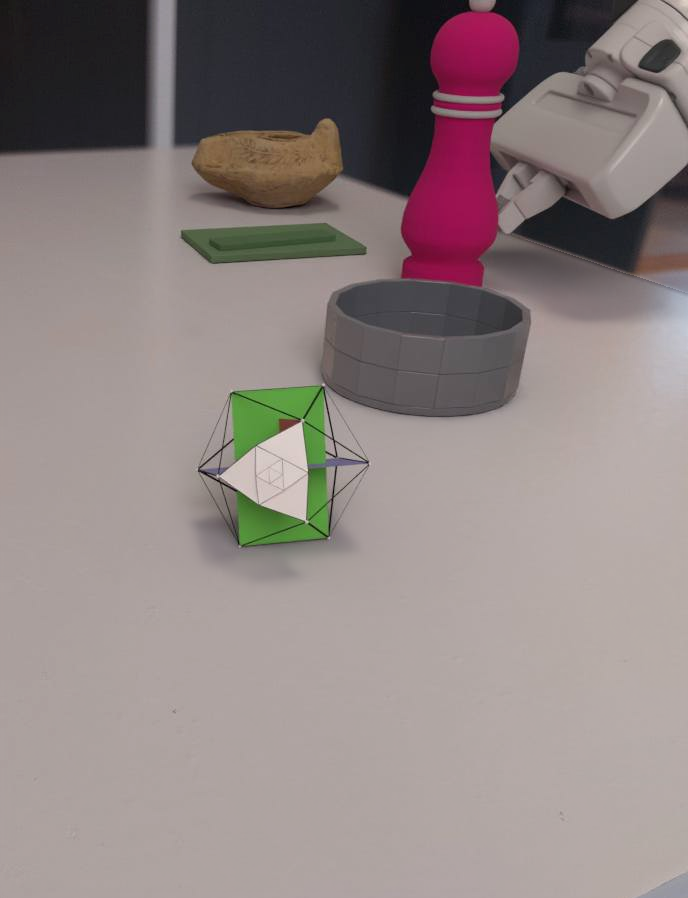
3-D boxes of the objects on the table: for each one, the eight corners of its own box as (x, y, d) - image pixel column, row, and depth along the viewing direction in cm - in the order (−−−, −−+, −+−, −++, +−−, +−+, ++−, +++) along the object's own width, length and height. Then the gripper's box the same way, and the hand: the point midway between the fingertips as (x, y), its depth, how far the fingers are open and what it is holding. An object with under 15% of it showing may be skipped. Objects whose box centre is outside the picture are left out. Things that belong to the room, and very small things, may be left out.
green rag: (325, 229, 95) (326, 216, 95) (366, 253, 88) (367, 240, 88) (180, 237, 92) (180, 224, 91) (211, 263, 85) (211, 249, 84)
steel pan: (472, 344, 69) (484, 276, 67) (548, 412, 60) (565, 335, 57) (302, 350, 67) (307, 280, 65) (352, 420, 58) (361, 341, 55)
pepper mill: (445, 305, 76) (494, -13, 65) (374, 282, 81) (408, -19, 70) (506, 289, 80) (562, -14, 69) (435, 268, 85) (476, -19, 73)
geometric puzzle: (180, 445, 49) (204, 347, 42) (316, 434, 51) (364, 338, 43) (205, 583, 47) (235, 507, 40) (346, 568, 49) (402, 492, 41)
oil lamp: (193, 189, 109) (194, 104, 104) (334, 193, 109) (342, 109, 104) (188, 212, 100) (189, 120, 95) (342, 217, 100) (351, 125, 95)
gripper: (558, 33, 82) (423, 167, 86) (702, 58, 65) (526, 223, 69) (596, 96, 85) (465, 223, 89) (743, 136, 68) (573, 289, 72)
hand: (492, 223), depth 79 cm, fingers closed
